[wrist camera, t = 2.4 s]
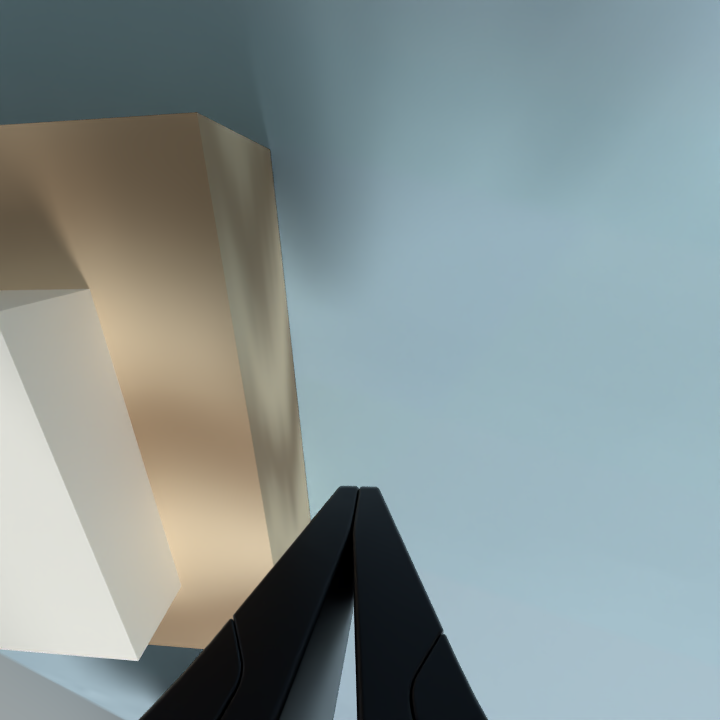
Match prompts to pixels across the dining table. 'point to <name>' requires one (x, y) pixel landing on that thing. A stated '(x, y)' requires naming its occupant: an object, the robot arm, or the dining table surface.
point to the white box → (73, 490)
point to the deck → (176, 328)
